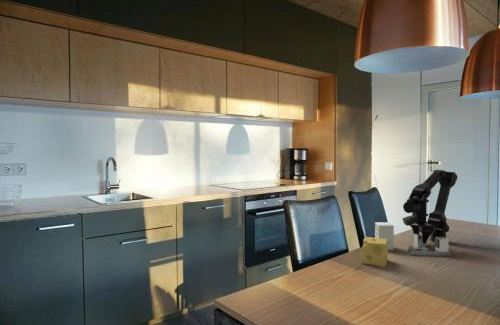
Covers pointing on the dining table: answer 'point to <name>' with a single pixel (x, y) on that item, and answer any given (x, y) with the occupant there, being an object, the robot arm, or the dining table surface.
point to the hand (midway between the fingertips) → (419, 240)
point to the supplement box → (385, 233)
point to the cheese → (374, 251)
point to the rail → (439, 250)
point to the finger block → (418, 240)
